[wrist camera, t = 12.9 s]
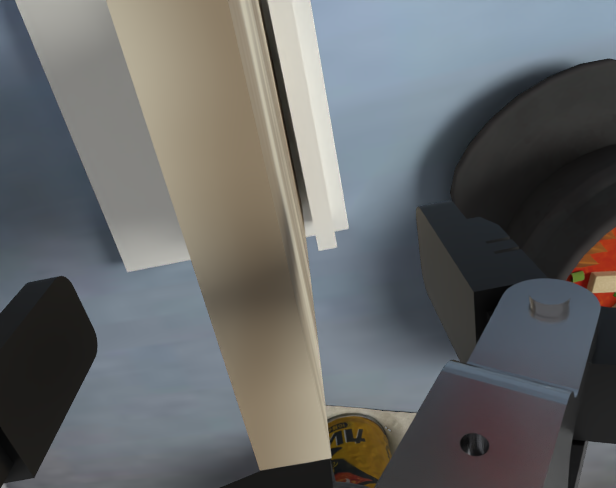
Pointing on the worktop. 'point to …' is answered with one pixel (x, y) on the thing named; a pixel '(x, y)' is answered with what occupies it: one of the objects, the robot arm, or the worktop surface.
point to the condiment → (363, 442)
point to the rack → (136, 138)
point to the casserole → (552, 176)
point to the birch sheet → (235, 205)
